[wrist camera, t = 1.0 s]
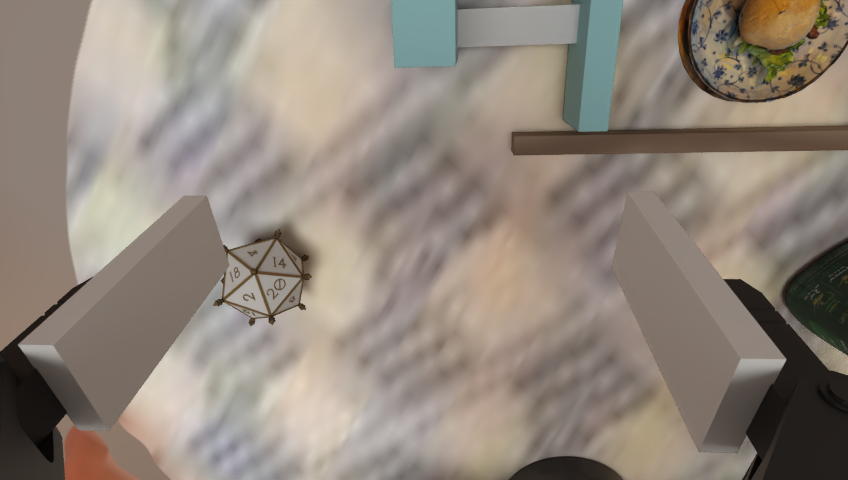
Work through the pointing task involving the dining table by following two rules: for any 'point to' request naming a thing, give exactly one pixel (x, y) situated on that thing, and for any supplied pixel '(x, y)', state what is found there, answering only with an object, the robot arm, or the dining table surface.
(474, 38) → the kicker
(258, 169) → the dining table surface
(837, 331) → the coffee jar
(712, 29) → the burger
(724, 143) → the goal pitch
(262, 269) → the game die
